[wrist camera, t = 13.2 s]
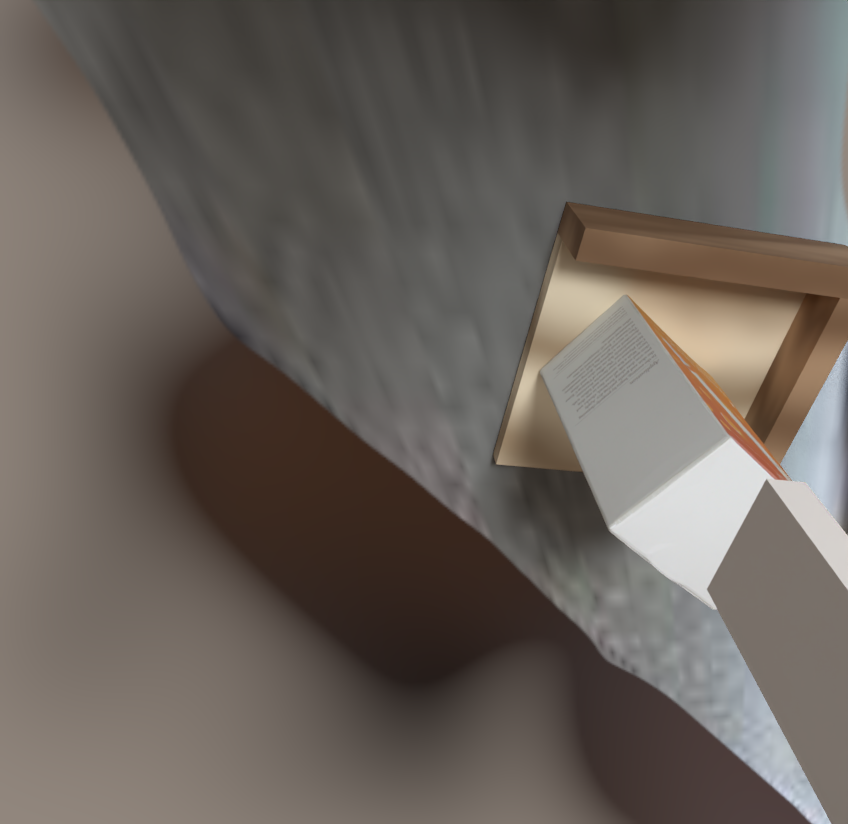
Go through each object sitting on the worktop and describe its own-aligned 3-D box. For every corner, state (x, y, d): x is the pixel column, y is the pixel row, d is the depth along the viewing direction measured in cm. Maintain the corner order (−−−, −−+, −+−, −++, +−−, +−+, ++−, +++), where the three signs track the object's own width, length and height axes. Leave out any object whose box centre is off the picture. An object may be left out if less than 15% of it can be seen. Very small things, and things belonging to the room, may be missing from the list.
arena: (566, 202, 38) (585, 228, 35) (845, 245, 41) (884, 272, 38) (487, 474, 47) (497, 513, 45) (719, 494, 50) (743, 531, 47)
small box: (712, 374, 44) (837, 534, 33) (625, 445, 46) (714, 616, 35) (625, 287, 40) (733, 436, 29) (534, 368, 42) (603, 534, 32)
